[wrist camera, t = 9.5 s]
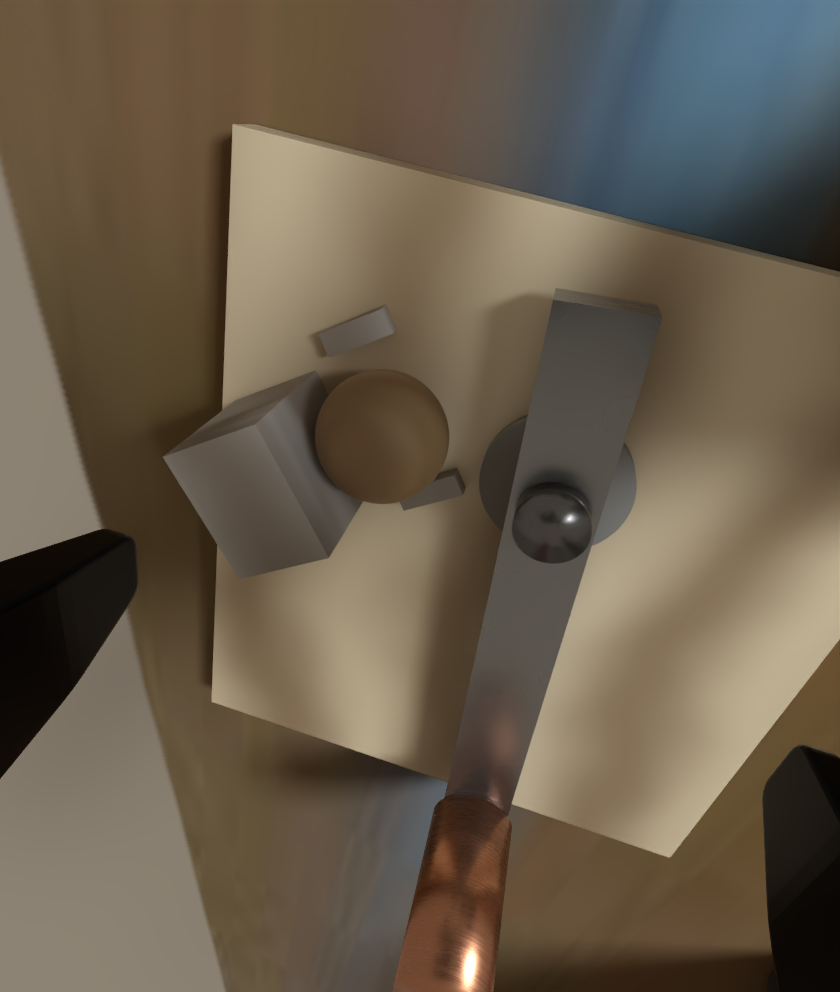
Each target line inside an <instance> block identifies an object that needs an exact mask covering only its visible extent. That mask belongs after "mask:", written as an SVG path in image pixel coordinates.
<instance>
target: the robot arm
mask: <svg viewBox="0 0 840 992" xmlns="http://www.w3.org/2000/svg"><path fill="white" fill-rule="evenodd" d="M137 588H138V567H137V553H136V543H135V541H134V539H133V538H132V537H130V536H129V535H126V534H123V533H120V532H116V531H113V530H110V529H101V530H97V531H94V532H91V533H88V534H85V535H82V536H79V537H76V538H72V539H69V540H66V541H63V542H60V543H57V544H54V545H51V546H48V547H45V548H42V549H39V550H36V551H32V552H29V553H26V554H23V555H20V556H17V557H14V558H11V559H8V560H5V561H2V562H0V779H1V777H2V776H3V775H4V773H5V772H6V771H7V770H8V768H9V767H10V766H11V765H12V764H13V763H14V761H15V760H16V759H17V758H18V756H19V755H20V754H21V753H22V751H23V750H24V749H25V748H26V747H27V745H28V744H29V743H30V742H31V740H32V739H33V738H34V737H35V735H36V734H37V733H38V732H39V731H40V730H41V728H42V727H43V726H44V725H45V723H46V722H47V721H48V720H49V718H50V717H51V716H52V715H53V714H54V712H55V711H56V710H57V709H58V707H59V706H60V705H61V704H62V702H63V701H64V700H65V699H66V697H67V696H68V695H69V693H70V692H71V691H72V690H73V688H74V687H75V685H76V684H77V683H78V681H79V680H80V678H81V677H82V675H83V674H84V673H85V671H86V669H87V668H88V666H89V665H90V663H91V662H92V660H93V659H94V657H95V656H96V654H97V653H98V651H99V650H100V648H101V647H102V645H103V644H104V642H105V641H106V639H107V637H108V636H109V634H110V633H111V631H112V630H113V628H114V627H115V625H116V624H117V622H118V621H119V619H120V617H121V616H122V615H123V613H124V612H125V610H126V609H127V607H128V605H129V604H130V602H131V601H132V599H133V598H134V596H135V593H136V591H137ZM762 803H763V825H764V847H765V869H766V892H767V910H768V923H769V931H770V939H771V947H772V954H773V960H774V967H775V973H776V980H777V987H778V992H840V758H839V757H838V756H836V755H835V754H833V753H831V752H828V751H825V750H821V749H818V748H815V747H812V746H809V745H802V744H801V745H798V746H796V747H794V748H793V749H792V750H791V751H790V753H789V754H788V755H787V756H786V758H785V759H784V760H783V761H782V763H781V764H780V765H779V766H778V768H777V769H776V770H775V771H774V773H773V774H772V775H771V776H770V778H769V779H768V781H767V782H766V785H765V787H764V791H763V801H762Z"/></svg>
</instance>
